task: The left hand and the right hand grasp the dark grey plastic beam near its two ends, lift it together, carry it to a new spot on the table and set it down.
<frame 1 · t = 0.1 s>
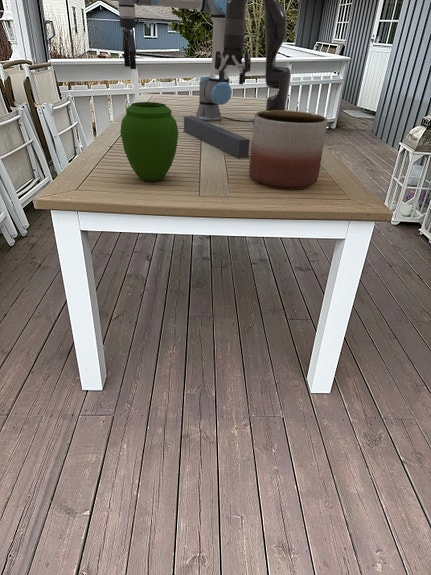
left hand: (130, 67, 208), 28 cm above the table, tool pointing down, fingers open, 13 cm apart
right hand: (231, 83, 157), 29 cm above the table, tool pointing down, fingers open, 8 cm apart
vase: (151, 178, 146), on the table
beam: (212, 142, 197), on the table
seashell: (260, 129, 230), on the table
planter: (282, 180, 152), on the table
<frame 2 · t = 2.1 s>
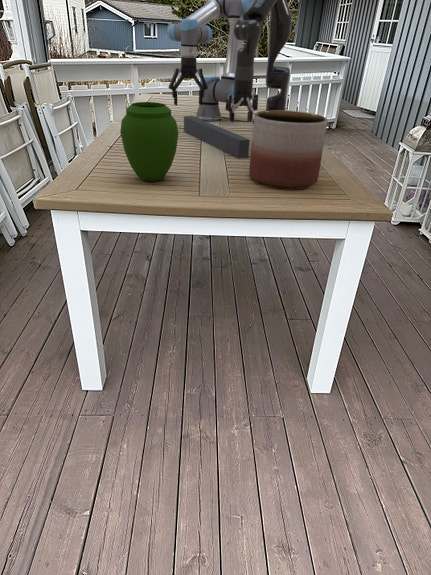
left hand: (188, 104, 208), 13 cm above the table, tool pointing down, fingers open, 13 cm apart
right hand: (240, 121, 172), 14 cm above the table, tool pointing down, fingers open, 8 cm apart
nothing on the table moved.
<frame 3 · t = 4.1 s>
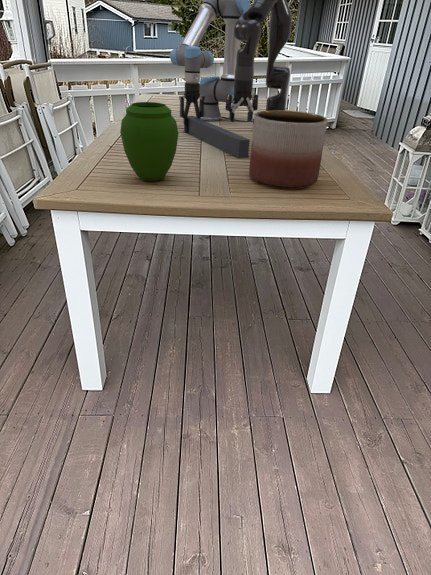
left hand: (191, 131, 215), 1 cm above the table, tool pointing down, fingers closed on beam, 5 cm apart
right hand: (240, 121, 172), 14 cm above the table, tool pointing down, fingers open, 8 cm apart
beam: (212, 142, 197), on the table, touching left hand
everything else where it was.
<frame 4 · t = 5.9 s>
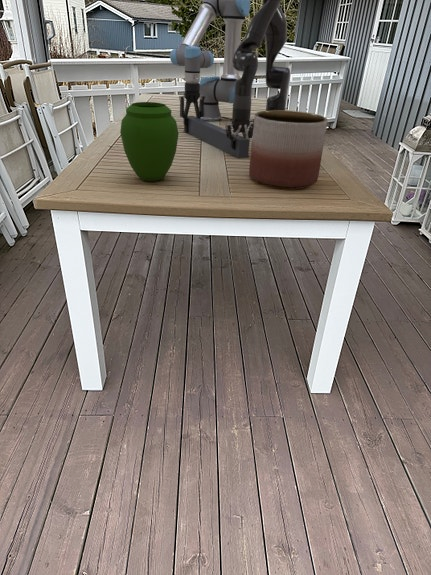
left hand: (191, 131, 215), 1 cm above the table, tool pointing down, fingers closed on beam, 5 cm apart
right hand: (238, 148, 178), 3 cm above the table, tool pointing down, fingers closed on beam, 5 cm apart
beam: (212, 142, 197), on the table, touching left hand, right hand
everything else where it was.
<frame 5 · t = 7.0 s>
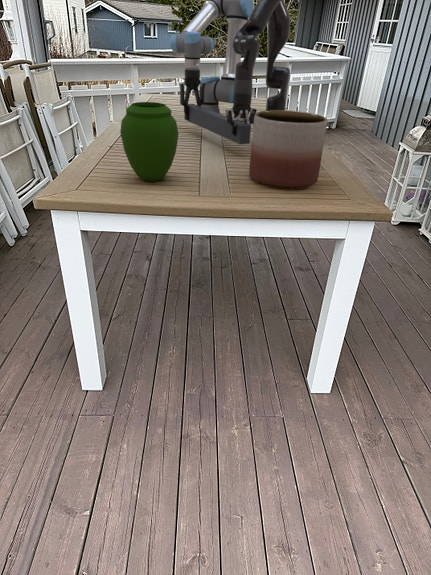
left hand: (192, 119, 212), 6 cm above the table, tool pointing down, fingers closed on beam, 5 cm apart
right hand: (239, 134, 176), 9 cm above the table, tool pointing down, fingers closed on beam, 5 cm apart
beam: (213, 130, 195), point 6 cm above the table, touching left hand, right hand
everything else where it was.
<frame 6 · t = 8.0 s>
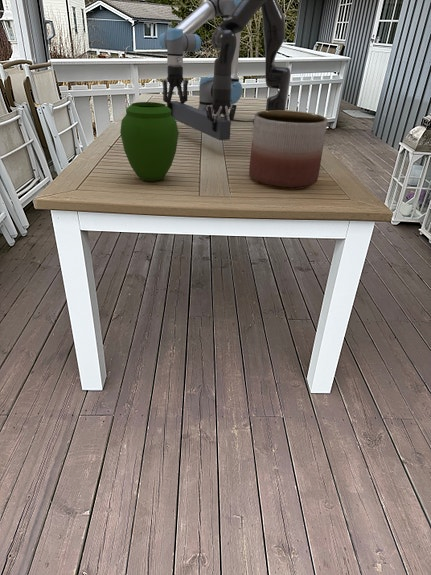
left hand: (175, 116, 211), 7 cm above the table, tool pointing down, fingers closed on beam, 5 cm apart
right hand: (220, 130, 175), 10 cm above the table, tool pointing down, fingers closed on beam, 5 cm apart
beam: (195, 126, 194), point 7 cm above the table, touching left hand, right hand
everything else where it was.
when the left hand's fingers open (2 cm above the table, at t = 10.2 s): beam drops 1 cm, on the table.
when the right hand's fingers open (4 cm above the table, at t = 10.4 s): beam stays where it is, on the table.
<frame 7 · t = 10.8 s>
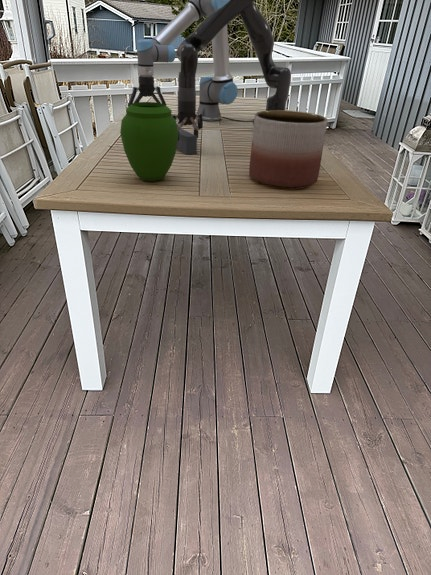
left hand: (148, 121, 214), 4 cm above the table, tool pointing down, fingers open, 13 cm apart
right hand: (186, 139, 178), 5 cm above the table, tool pointing down, fingers open, 8 cm apart
beam: (166, 139, 198), on the table
everything else where it was.
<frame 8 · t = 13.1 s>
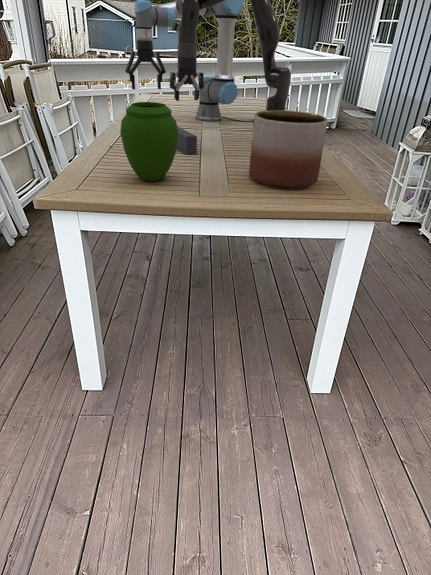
left hand: (146, 89, 206), 19 cm above the table, tool pointing down, fingers open, 13 cm apart
right hand: (186, 100, 170), 21 cm above the table, tool pointing down, fingers open, 8 cm apart
nothing on the table moved.
at the end: beam inside the target area (0.4 cm from its centre), on the table; beam tilted 0°; beam never tilted more than 2° during the clip; both hands held the beam at the same time; the left hand is holding nothing; the right hand is holding nothing; beam at rest at the end (0.0 cm/s) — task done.
